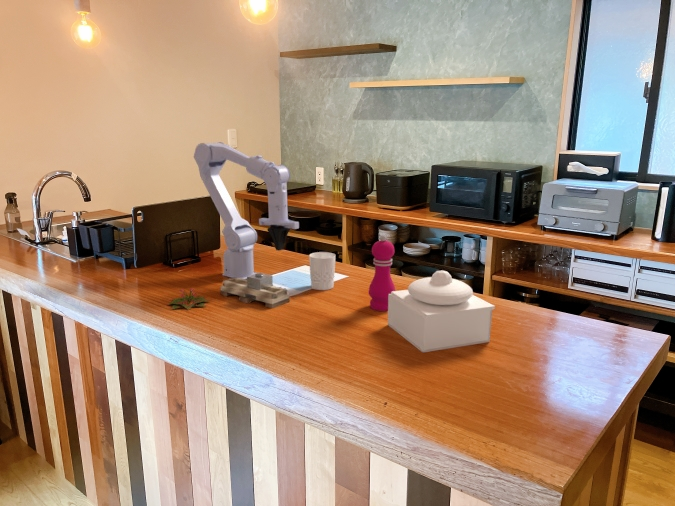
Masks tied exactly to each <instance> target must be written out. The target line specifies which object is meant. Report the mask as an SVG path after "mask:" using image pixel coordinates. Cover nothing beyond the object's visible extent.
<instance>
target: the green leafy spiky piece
mask: <svg viewBox="0 0 675 506" xmlns="http://www.w3.org/2000/svg"><path fill="white" fill-rule="evenodd" d="M182 290H183V291H182ZM194 290H195V288H190V291H189V293H187V292H186V291H184V288H181V289H179V292H181V293H182V294H180V296H182V298H181V297H178V298H172V301H171V302H169V303H167V305H172V307H171V310H175V309H181V308H185V309H187V310H188V311H190V309H191V308H193V307H194V306H196V307H203V308H205V307H206V305H205V303H204V302H209V300H207V299H205V296H196V297H195V295H197V292H195V291H194Z"/></svg>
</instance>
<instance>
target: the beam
mask: <svg viewBox="0 0 675 506" xmlns="http://www.w3.org/2000/svg"><path fill="white" fill-rule="evenodd" d="M267 290H268V291H267ZM267 290H263V289H262V290H258V289H254V288H250V287H247V279H241V278H237V277H235V278H229V279H225V280H223V281H222V285H220V295H221V296H225V297H227V296H228V297H229V296H231V295H235V296H236V295H237V296H238V301H239V302H241V303H244V304H248V303H251V302H254V301H258V302H263V303H265V307H266V308H270V309H275V308H276V307H279V306H281V305H285V304H287V303H290V293H289V292H288V289H286V288H282V287H278V286H274V285H273V286H271V287H268V288H267Z"/></svg>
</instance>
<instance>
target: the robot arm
mask: <svg viewBox="0 0 675 506" xmlns="http://www.w3.org/2000/svg"><path fill="white" fill-rule="evenodd" d="M193 158H194V161H195V162H196V164H197V167H198V172H199V175H200V179H201V181H202V183H203V185H204V186H205V188H206V191H207V192H208V194H209V197H210V198H211V200H212V203H214V206H215V208H216V210H217V212H218V214H219V216H220V218H221V219H222V221H223V223H224V226H223V229H222V235H223V237H224V244H225V245H226V247H227V249H225V250H224V253H223V257H222V258H223V259H222V260H223V273H222V274H221V275H222V276H223V277H228V278H230V279H232V278H235V277H237V278H241V279H246V280H247V276H250V275H253V274H256V273H257V272H254V271H255V270H254V248H255V245H256V243H257V241H258V232H257V231H256V230H255V228H254V227H252V226H251V224H250V223H249V220H246V219H244V218H243V217H241V215H240V213H239V212H238V209H237V208H236V206H235V203H234V202H233V199H232V198H231V196H230V193H229V192H228V190H227V188H226V185H225V184H224V182H223V180H222V178H221V177H220V172H221V171H222V168H223V167H224V165H225V164H226V161H228V162H232V163H233V164H234V163H235V164H237V165H239V166H241V167H244V168H245V169H246V171H247V173H248V174H250V175H252V176H254V177H257V178H258V179H261V180H263V182H264V184H265V185H266V190H267V200H268V201H267V204H268V218H267V217H262V218H258V225H259V226H269V227H268V228H267V232H268V233H269V235H270V237H271V239H272V242H273V245H274V249H275V251H277V252H278V251H280V252H281V251H283V250H284V247H285V243H286V239H287V236H288V235H289V232H290V230H291V229H292V230H297V229H299V228H300V222H299V221H295V220H291V219H289V216H288V215H289V214H288V190H287V189H288V187H287V186H288V185H287V184H288V182H289V180H290V178H291V173H290V170H289V168H288V167H286V166H285V165H284V164H278V165H276V164H275V162H274V161H269V160H266V159H264V158H263V156H262V155H260V154H257V155H252V156H249V155H247V154H245V153H243V152H241V151H239V150H237V149H235V148H234V147H232V146H230V144H227V143H224V142H211V143H210V142H207V143H205V142H201V143H199V144H197V145H196V147H195V149H194V153H193Z"/></svg>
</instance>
